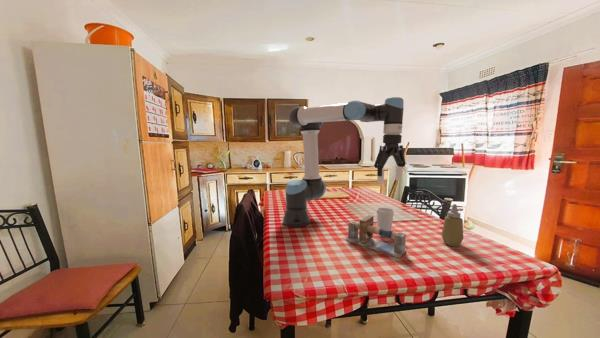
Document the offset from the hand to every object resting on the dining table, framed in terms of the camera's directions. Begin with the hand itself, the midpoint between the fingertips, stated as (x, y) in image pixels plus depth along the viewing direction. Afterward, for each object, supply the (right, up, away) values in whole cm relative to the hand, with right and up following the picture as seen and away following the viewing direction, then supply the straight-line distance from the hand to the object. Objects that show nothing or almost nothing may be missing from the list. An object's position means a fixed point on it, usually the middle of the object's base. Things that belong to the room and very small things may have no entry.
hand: (389, 181), depth 101 cm
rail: (-8, -28, -3) cm, 29 cm away
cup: (+2, -26, +10) cm, 28 cm away
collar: (-11, -26, 0) cm, 28 cm away
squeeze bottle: (+27, -28, -2) cm, 39 cm away
